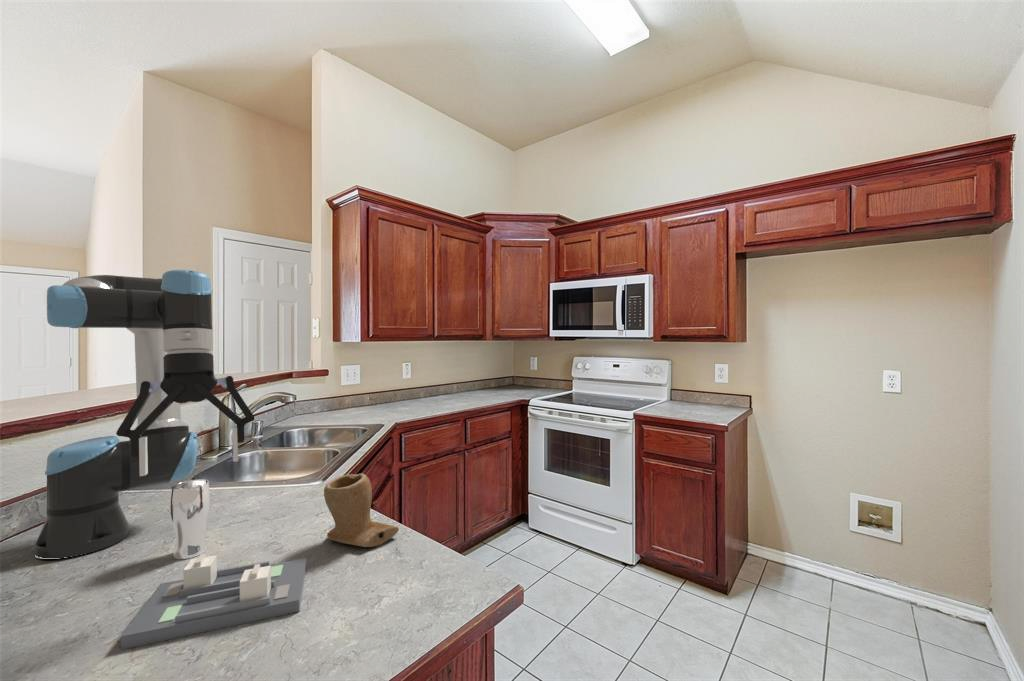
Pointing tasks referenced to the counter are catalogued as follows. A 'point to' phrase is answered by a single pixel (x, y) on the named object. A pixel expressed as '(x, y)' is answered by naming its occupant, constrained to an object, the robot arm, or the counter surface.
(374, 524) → the clay platform pipe
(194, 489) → the beer glass
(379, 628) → the counter surface
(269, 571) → the tab
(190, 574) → the tab
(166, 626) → the switch board
